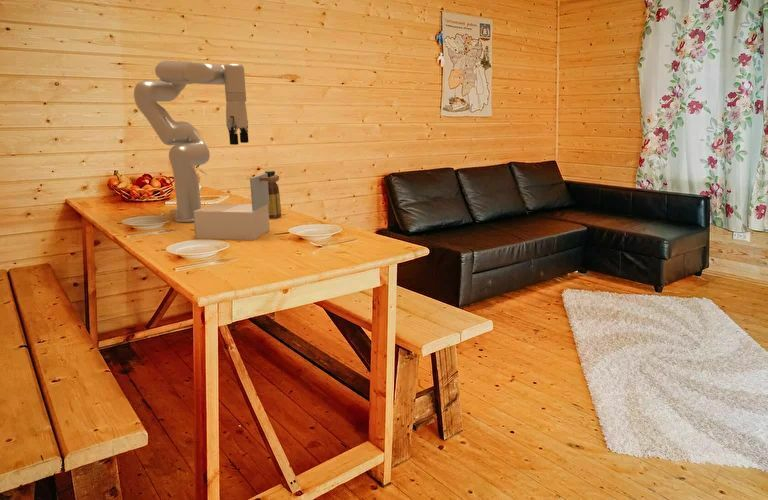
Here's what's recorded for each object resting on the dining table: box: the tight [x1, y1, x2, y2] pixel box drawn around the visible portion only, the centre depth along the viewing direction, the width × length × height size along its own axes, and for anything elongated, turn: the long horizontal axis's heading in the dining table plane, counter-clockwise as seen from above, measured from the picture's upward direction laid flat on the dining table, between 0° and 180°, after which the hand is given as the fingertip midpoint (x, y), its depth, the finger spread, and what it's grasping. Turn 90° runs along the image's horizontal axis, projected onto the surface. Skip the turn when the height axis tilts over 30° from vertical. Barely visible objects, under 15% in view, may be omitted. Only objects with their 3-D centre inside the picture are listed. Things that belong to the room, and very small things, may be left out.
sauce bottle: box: [264, 169, 282, 219], centre depth 241 cm, size 7×6×20 cm
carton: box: [193, 202, 271, 241], centre depth 212 cm, size 23×16×10 cm
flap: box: [249, 172, 280, 211], centre depth 207 cm, size 12×15×7 cm
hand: (239, 143), depth 221 cm, fingers open, 9 cm apart
